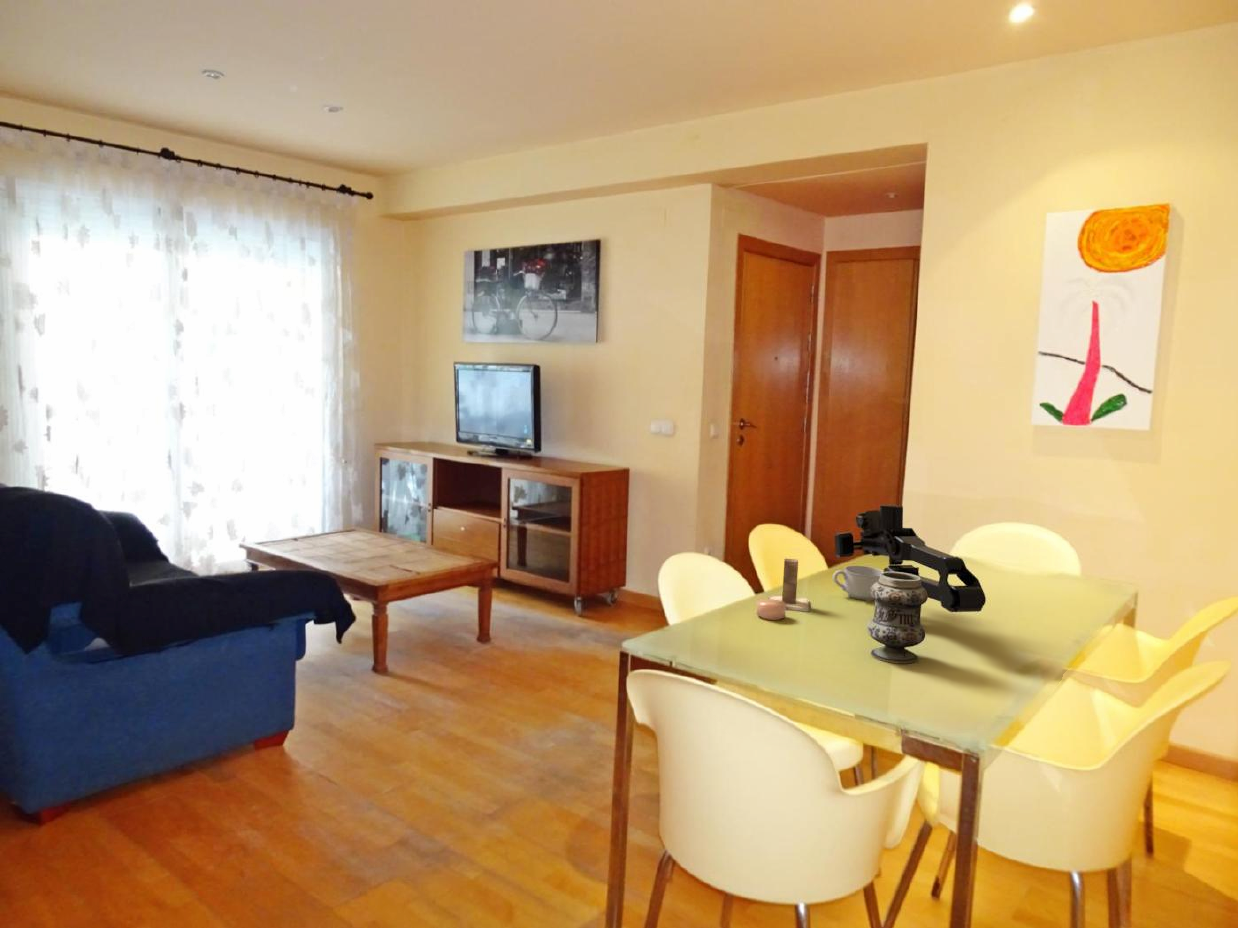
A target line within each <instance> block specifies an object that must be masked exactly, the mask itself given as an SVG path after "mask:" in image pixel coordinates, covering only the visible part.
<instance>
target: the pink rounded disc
mask: <svg viewBox="0 0 1238 928" xmlns="http://www.w3.org/2000/svg"><path fill="white" fill-rule="evenodd" d="M756 602H757V603H756V615H757V616H759V617H760V618H761V619H763V620H767V621H778V620H781V619H783V618H785V617H786V613H787V612H786V611H787V610H786V603H785V602H783V601H779V600H774V599H768V598H763V599H759V600H757V601H756Z"/></svg>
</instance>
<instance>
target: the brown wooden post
mask: <svg viewBox="0 0 1238 928" xmlns="http://www.w3.org/2000/svg"><path fill="white" fill-rule="evenodd" d="M783 563H784V564H783V577H782V595H769V598H770V599H774V600H779V601H783V602H785V603H786V609H787V610H786V611H790V610H798V611H797V612H801V611H809V606H808V601H809V598H804V597H797V587H798V573H799V571H798V570H799V559H796V558H795V559H793V558H784V561H783Z"/></svg>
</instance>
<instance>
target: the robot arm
mask: <svg viewBox="0 0 1238 928" xmlns="http://www.w3.org/2000/svg"><path fill="white" fill-rule="evenodd" d="M855 523H856V527H857V528H858V529H860V528H861V530H862V531H859V534H860V537H861V538H860V540H859V541H854V535H853V534H852V532H849V531H848V532H837V533H834V537H833V538H834V551H835V552H834V553H835V556H836V557H837V558H847V557H853V556H854V554H855V551H862V554H863V555H866V556H867V555H871V556H873V557H879V556H883V557H888V567H884V568H883V571H884V572H901V573H908V574H912V575H916V576H918V577H920V578H921V584H922V587H923V588H924V589H925V590H926V592H927V594H928V598H929V599H931V600H934V601H937V602H940V605H941V607H942V608H944V609H945V610H947V611H948V612H950V613H972V612H974V613H975V612H981V611H983V610H982V609H983V607H984V606H985V604H986V602H987V599H986V594H985V592H984V589H983V587H982V585H981V583H980V580H979V578H978V577H977V576H975V574H973V573H972V572H971V571H970V570H969V569H968V568H967V566H966V563H965V562H964V559H963V558H961V557H959V556H954V555H951V554H948V553H946V552H943V551H940V550H937V549H935V548H932V547H929V546H928V545H926V542H925V541H924V540H923V539H921V538H920V537H919V536H918V535H917V533H916V532H915V530H914V529H913V528H912V527H904V506H903V505H900V504H899V505H897V504H879V509H876V510H874V509H873V510H867V511H864V512H860V513H858V515H857V516H856V517H855ZM904 561H905V562H906V561H907V562H909V561H910V562H914V563H916V564H919V565H923V566H924V567H926V568H929V569H931V570H934V571H936V572H937V573H938V575H939V579H938V580H935V579H932V578H929V577H924V576H921V575H920V572H919V571H920V570H919V569H920V567H916V566H914V565H913V564H903V563H904ZM949 575H950V576H951V575H956V577H957V578H958V579H959V580H960V581H961V582H962V583H963V584H964V585H952V584H950V583H949Z"/></svg>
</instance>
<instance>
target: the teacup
mask: <svg viewBox="0 0 1238 928" xmlns="http://www.w3.org/2000/svg"><path fill="white" fill-rule="evenodd" d="M882 572H884V570H882V569H880V568H876V567H873V566H868V565H858V564H857V565H854V564H852V565H846V566H845V567H844V570H841V569H839V570H835V571H834V573H833V574H832V581H833V582H834V583H835V585H836V586H838V587H840V588H841V589H842V591H844V592H845V593H847V595H848V596H849V597H851V598H853V599H857V600H863V601H866V602H867V601H868V602H869V601H870V602H871V601H875V598H873V596H872V595H871V587H872V586H873V585H874V584H875V583H876V582H878V581H879V579H880V574H881V573H882ZM840 574H841V575H842V576H843V583H841V582H839V581H838V576H839V575H840Z"/></svg>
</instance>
